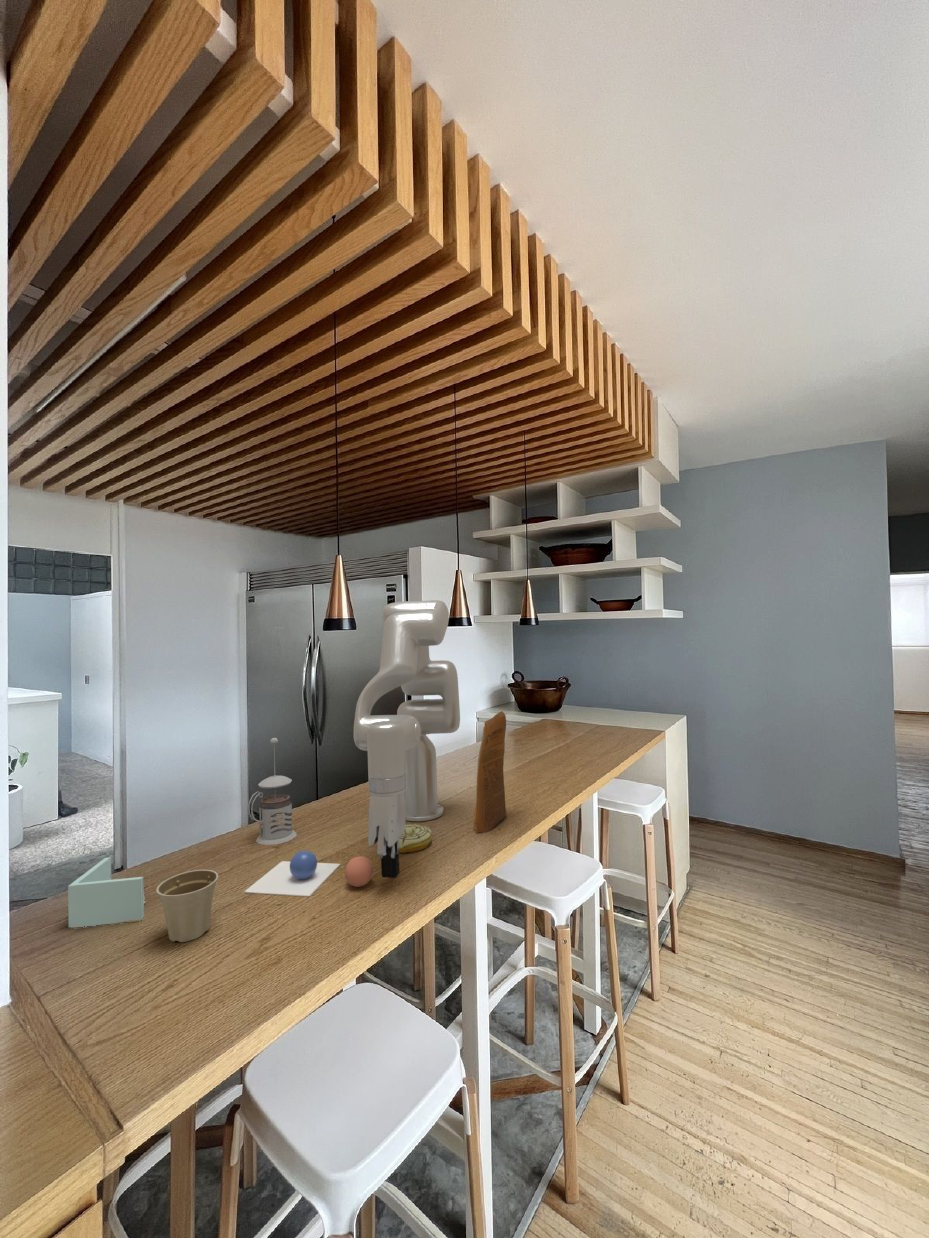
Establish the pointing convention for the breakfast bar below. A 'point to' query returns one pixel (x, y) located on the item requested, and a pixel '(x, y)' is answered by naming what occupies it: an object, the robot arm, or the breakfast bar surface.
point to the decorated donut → (414, 838)
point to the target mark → (291, 881)
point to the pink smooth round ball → (359, 871)
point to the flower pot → (188, 903)
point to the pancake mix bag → (491, 776)
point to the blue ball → (303, 865)
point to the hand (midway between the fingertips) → (390, 875)
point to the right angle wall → (104, 898)
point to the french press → (274, 811)
